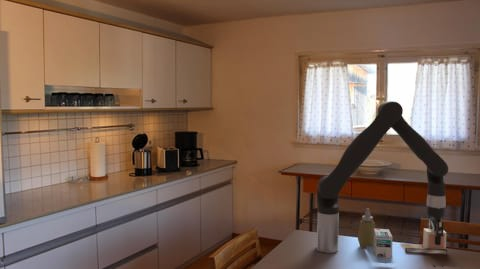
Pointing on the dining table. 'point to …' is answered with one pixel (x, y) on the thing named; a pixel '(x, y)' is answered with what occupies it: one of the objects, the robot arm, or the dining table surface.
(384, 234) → the light bulb box
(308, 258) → the dining table surface
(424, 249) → the brown panel with ledge
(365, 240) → the squeeze bottle
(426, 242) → the carton
